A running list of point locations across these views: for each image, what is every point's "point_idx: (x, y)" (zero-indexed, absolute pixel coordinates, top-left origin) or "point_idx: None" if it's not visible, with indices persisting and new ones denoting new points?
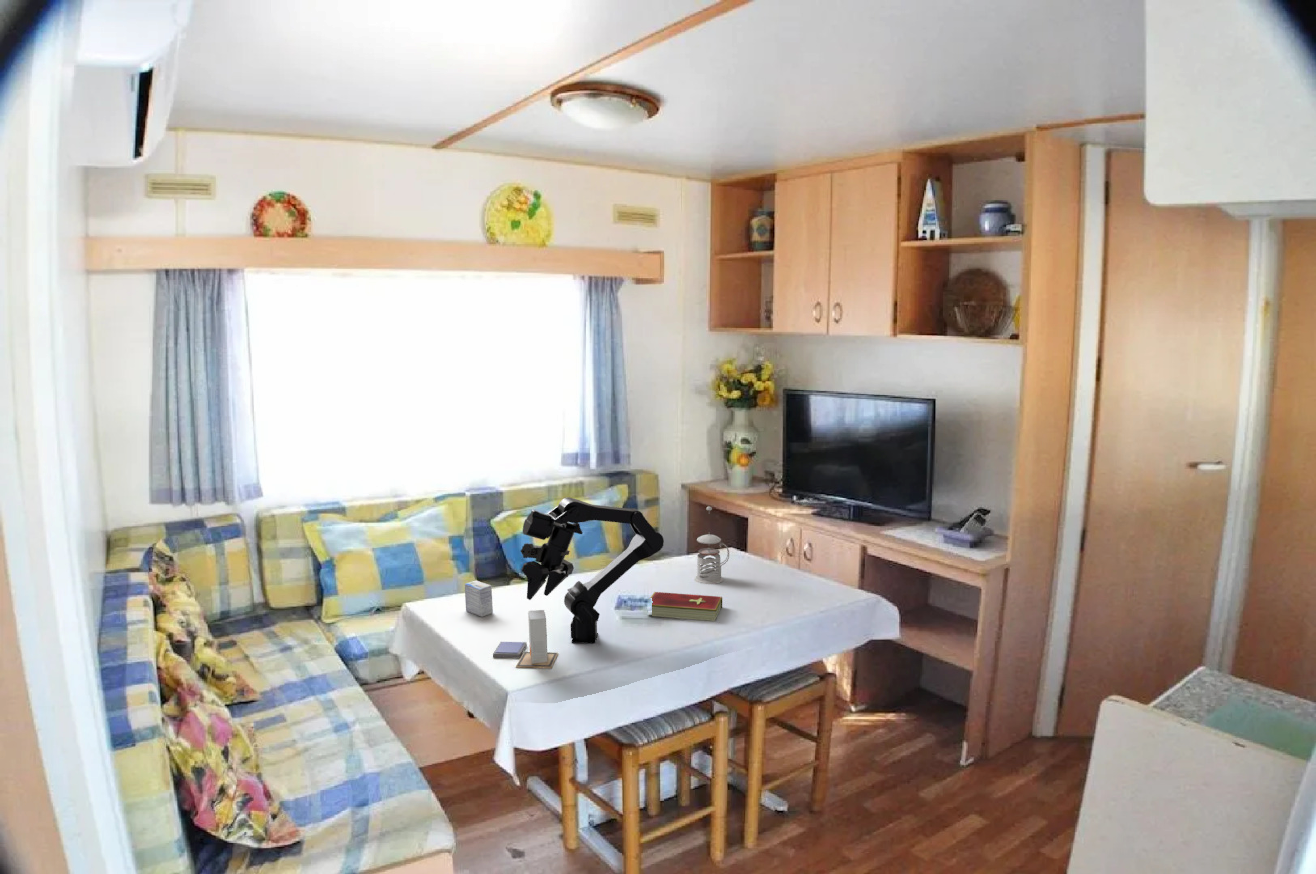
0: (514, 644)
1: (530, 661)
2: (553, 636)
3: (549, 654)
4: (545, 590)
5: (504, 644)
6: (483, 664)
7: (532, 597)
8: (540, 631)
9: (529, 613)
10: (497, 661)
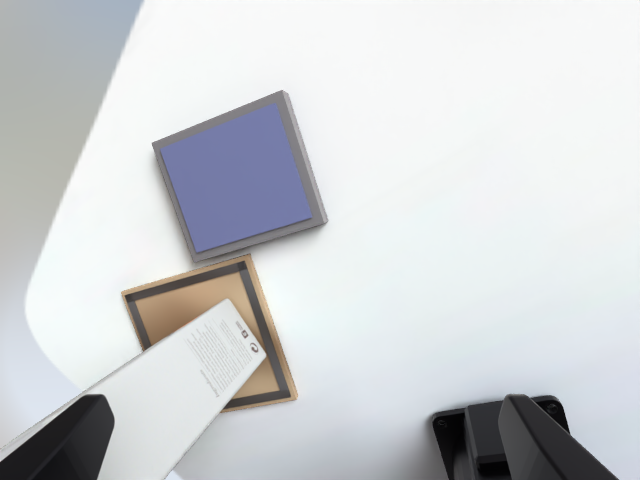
0: (267, 186)
1: (176, 327)
2: (492, 292)
3: (266, 372)
4: (529, 445)
5: (249, 136)
6: (95, 147)
7: (94, 467)
8: None
9: (16, 446)
10: (140, 186)
